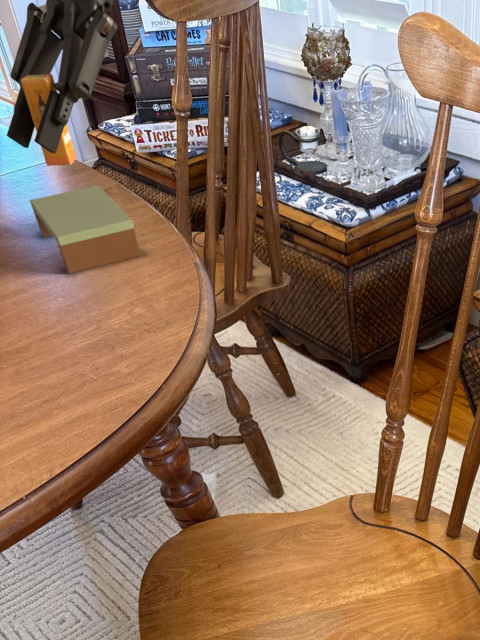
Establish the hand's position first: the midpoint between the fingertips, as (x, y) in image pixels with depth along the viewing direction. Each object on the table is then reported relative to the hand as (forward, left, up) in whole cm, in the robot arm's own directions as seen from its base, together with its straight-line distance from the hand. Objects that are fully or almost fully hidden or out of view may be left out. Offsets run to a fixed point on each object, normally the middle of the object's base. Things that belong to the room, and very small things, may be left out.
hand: (31, 144), depth 98 cm
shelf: (-1, +5, -15) cm, 16 cm away
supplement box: (0, +4, -3) cm, 5 cm away
